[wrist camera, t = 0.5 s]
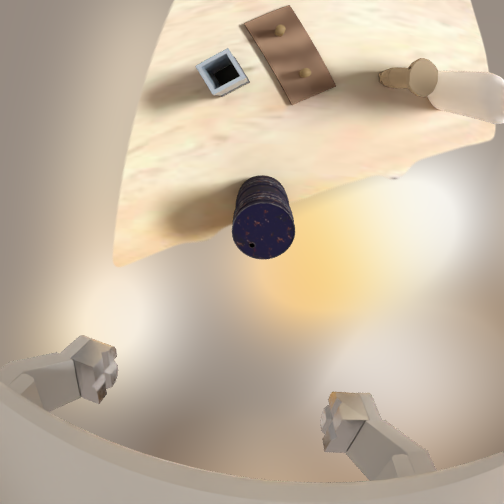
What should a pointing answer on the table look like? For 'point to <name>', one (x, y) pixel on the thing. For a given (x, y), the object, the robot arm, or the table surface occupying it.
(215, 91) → the sleeve
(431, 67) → the handle
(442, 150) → the table surface
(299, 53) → the pin board
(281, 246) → the black cylinder
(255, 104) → the table surface
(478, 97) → the alcohol
